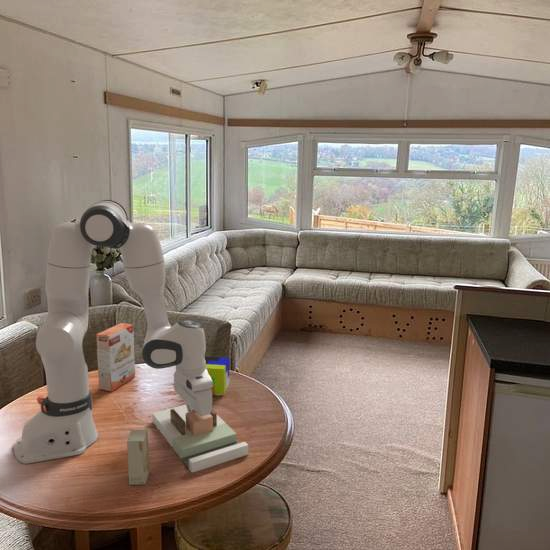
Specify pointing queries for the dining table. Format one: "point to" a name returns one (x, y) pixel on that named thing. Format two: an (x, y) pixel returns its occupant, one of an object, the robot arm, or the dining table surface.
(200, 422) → the block
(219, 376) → the puzzle toy
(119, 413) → the dining table surface
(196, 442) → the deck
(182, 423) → the channel walls
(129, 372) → the cracker box
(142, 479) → the skincare box
